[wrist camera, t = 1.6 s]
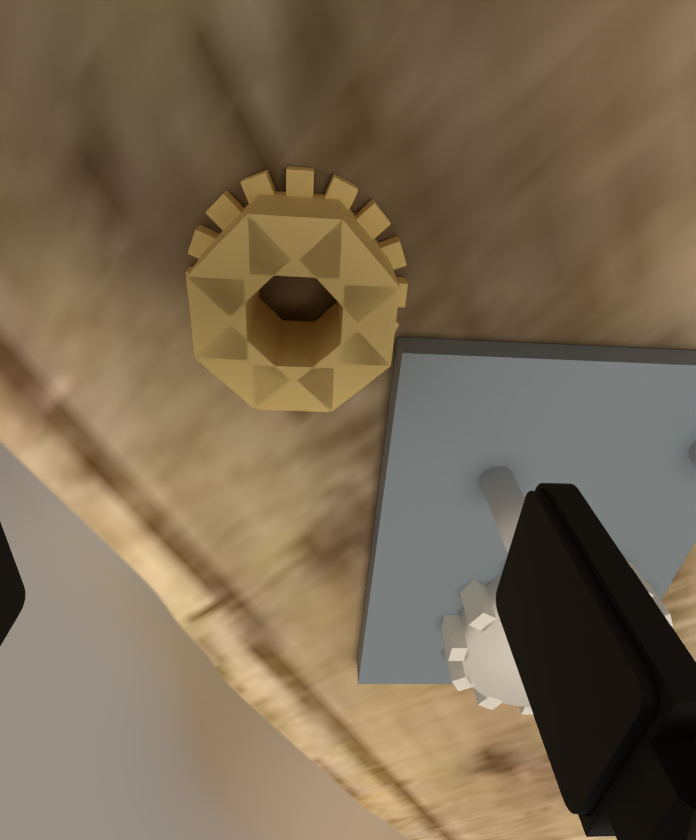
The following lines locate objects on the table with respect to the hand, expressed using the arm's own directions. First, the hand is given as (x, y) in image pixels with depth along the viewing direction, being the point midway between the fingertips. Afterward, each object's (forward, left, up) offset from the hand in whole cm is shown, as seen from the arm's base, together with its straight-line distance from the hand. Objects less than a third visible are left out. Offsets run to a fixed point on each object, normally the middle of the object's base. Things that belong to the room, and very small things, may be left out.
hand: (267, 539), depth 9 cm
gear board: (+12, +12, -13) cm, 21 cm away
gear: (-1, 0, -13) cm, 13 cm away
